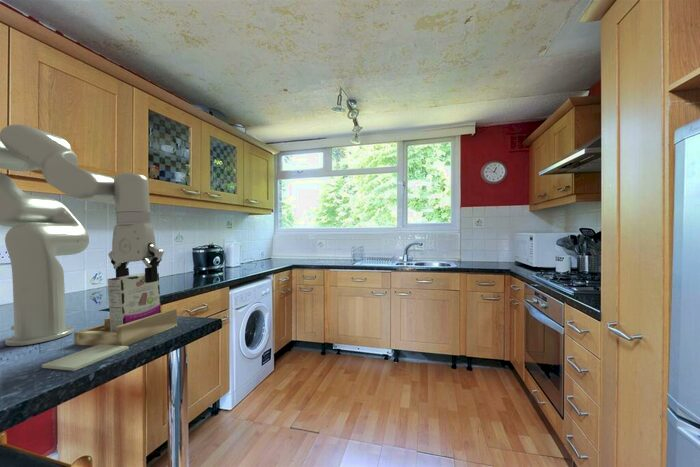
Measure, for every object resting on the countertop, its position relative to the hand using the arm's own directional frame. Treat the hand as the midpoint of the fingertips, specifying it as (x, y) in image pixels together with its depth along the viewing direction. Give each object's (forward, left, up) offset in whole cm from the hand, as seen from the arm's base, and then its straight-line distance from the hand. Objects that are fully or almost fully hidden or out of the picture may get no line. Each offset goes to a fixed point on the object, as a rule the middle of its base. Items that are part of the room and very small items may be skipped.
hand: (137, 282), depth 78 cm
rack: (-3, 0, -14) cm, 15 cm away
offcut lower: (-6, 0, -15) cm, 16 cm away
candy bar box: (0, 0, -15) cm, 15 cm away
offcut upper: (-6, 0, -12) cm, 13 cm away
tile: (+3, -14, -14) cm, 20 cm away
